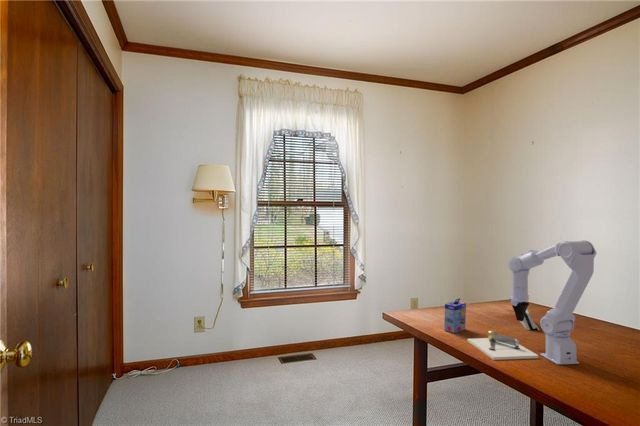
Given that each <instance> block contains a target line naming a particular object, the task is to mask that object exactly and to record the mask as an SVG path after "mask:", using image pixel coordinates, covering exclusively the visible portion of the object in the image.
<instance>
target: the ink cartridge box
mask: <svg viewBox="0 0 640 426" xmlns="http://www.w3.org/2000/svg"><path fill="white" fill-rule="evenodd" d="M460 300H461V298H460V297H459V298H456V299H455V301H451V302H447V303H445V304H444V331H447V332H449V333H452V334H456V333H458V332H462V331H464V330H466V322H467V321H466V318H467V317H466V311H467V308H466V306H467V303H466V302H463V301H460Z"/></svg>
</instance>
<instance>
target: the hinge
mask: <svg viewBox="0 0 640 426" xmlns="http://www.w3.org/2000/svg"><path fill="white" fill-rule="evenodd" d="M519 322H520V324H522V326H523V327H524V328H525V329H526V330H527V331H529V330H530V331H531V329H533V330H534V329H536V330H537V331H540V328H539V326H538V325H537V324H536V323H535V322H534V321H533V318H532V316H531V313H530V312H529V311H528V308H527V309H526V312H525V317H524V320H523V321H519Z"/></svg>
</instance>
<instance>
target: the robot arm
mask: <svg viewBox="0 0 640 426" xmlns="http://www.w3.org/2000/svg"><path fill="white" fill-rule="evenodd" d="M596 255H597V251H596V249H595V246H594V245H593V243H591V242H590V241H588V240H577V241H571V240H570V241H569V240H567V241H566V240H564V241H562V242H558V243H555V244H553V245H551V246H550V247H547V248H545V249H542V250H540V251H538V250H534V249H531V250H530V249H529V250H528V252H527V253H525V254H523V253H522V254H520V255H519V256H517V257H516V256H513V257H511V258H509V259H508V262H507V266H508V269H509V270H510V271H511V295H510V296H508V299H511V300H510V306H511V307H512V309H513V310H514V315H515V318H516V319H515V320H516V321H519V322H520V321H523V320H524V317H525V312H526V309H527V310H528V307H529V305H530V303H529V299H530V298H529V293H528V292H529V288H528V286H529V285H528V283H529V282H528V277H529V275H530V270H531V269H532V268H535V267H538V266H542V265H543V264H544V261H545V260H549V259H551V258H554V257H560V258H561V259H562V260H563V261H564V263H565V264H566V265H567V266H568V268H569V269H571V272H570V275H569V277H568V279H567V281H566V283H565V285H564V287H563V289H562V291H561V294H560V296H559V297H558V299H557V302H556V304H555V305H554V307H553V308H551V309H550V310H549V311H547V312H546V314H545V315H544V316H542V317H541V318H540V321H539V325H540V327H541V330H542V331H543V333H544V334H545V352H542V353H541V352H540V353H539V355H540V356H542V357H543V358H545V359H547V360H548V361H551V362H552V363H554V364H556V365H578V364H579V363H580V362H579V361H577V360H578V359H577V344H576V343H575V342H574V340H572V339H571V337H570V335H571V332H572V331H574V328H575V321H576V316H575V315H574V314H573V313H574V311H575V309H576V308H577V305H578V304H579V301H580V299H581V297H582V296H583V294H584V292H585V290H586V288H587V287H588V284H589V282H590V280H591V278H592V276H593V274H594V270H595V268H594V265H595V264H594V262H595V261H594V260H595V258H596Z"/></svg>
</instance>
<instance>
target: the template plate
mask: <svg viewBox="0 0 640 426" xmlns="http://www.w3.org/2000/svg"><path fill="white" fill-rule="evenodd" d="M490 341H494V350H491V349H490ZM467 342H468V343H470V344H471V345H472V346H473V347H475V348H476V349H478V350H479V351H481V352H482V353H483V354H485V355H486V356H487V357H489V358H490V359H492V360H493V361H499V360H500V361H501V360H502V361H503V360H523V359H524V360H525V359H526V360H528V359H530V360H531V359H539V355H538V354H536V353H535V352H534V351H532V350H530V349H528V348H526V347H524V346H523V345H521V344H519V348H516V347H515V346H513V345H509V344H506V343H502V342H499V341H496V340H490V339H488V337H482V338H481V337H480V338H479V337H478V338H477V337H476V338H474V337H473V338H467Z"/></svg>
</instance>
